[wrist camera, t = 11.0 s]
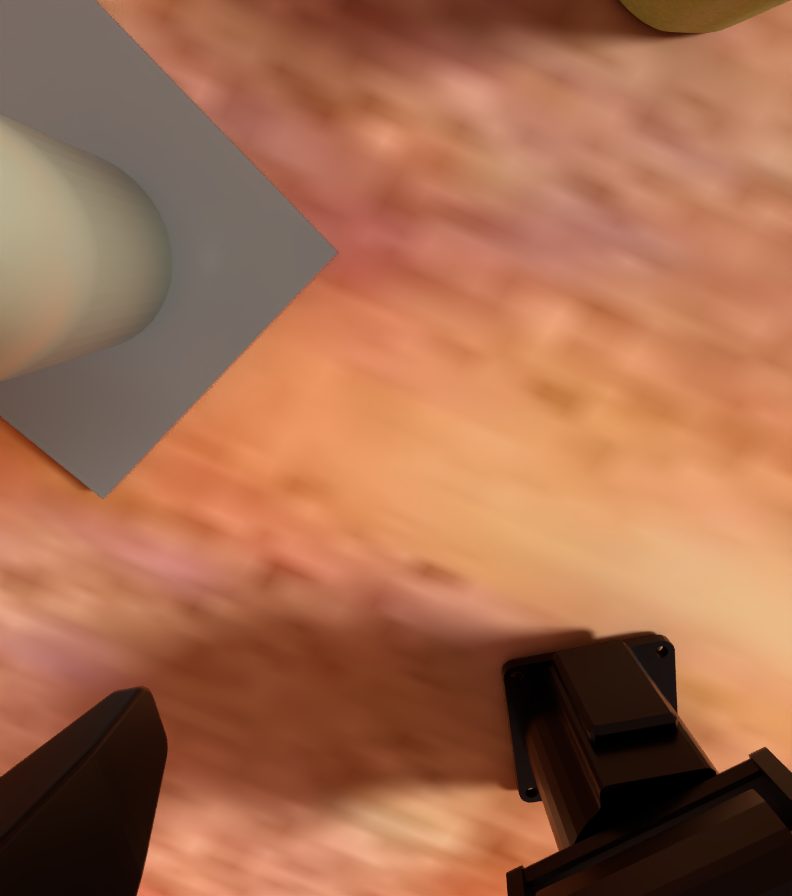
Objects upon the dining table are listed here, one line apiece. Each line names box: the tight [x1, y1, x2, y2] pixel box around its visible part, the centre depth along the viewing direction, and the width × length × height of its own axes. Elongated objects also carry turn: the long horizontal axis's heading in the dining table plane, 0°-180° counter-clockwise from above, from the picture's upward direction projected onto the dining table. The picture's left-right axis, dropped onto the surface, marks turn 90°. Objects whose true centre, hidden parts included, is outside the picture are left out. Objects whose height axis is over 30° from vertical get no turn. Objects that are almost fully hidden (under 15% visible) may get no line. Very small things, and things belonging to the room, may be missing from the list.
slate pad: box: [0, 0, 339, 499], centre depth 18 cm, size 11×11×1 cm
